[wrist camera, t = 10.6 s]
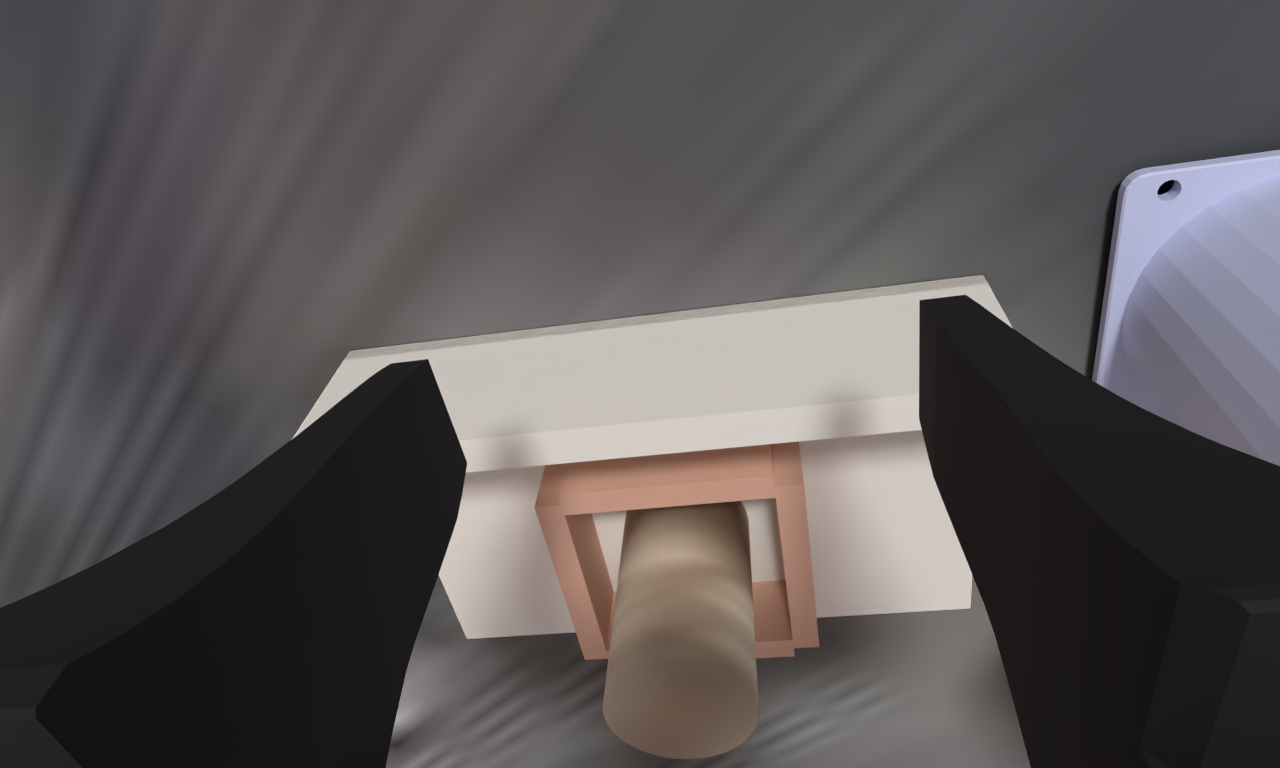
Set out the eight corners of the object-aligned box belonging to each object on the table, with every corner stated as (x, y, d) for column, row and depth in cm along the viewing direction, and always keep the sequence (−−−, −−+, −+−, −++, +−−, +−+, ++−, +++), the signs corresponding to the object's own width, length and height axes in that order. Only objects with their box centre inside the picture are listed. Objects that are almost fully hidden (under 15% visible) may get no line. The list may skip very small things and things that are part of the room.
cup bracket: (982, 274, 22) (1042, 382, 18) (966, 596, 29) (1007, 727, 25) (349, 351, 25) (279, 458, 21) (470, 628, 32) (434, 749, 28)
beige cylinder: (767, 496, 27) (783, 685, 21) (723, 580, 29) (727, 772, 23) (645, 462, 26) (627, 646, 20) (611, 550, 28) (585, 738, 23)
